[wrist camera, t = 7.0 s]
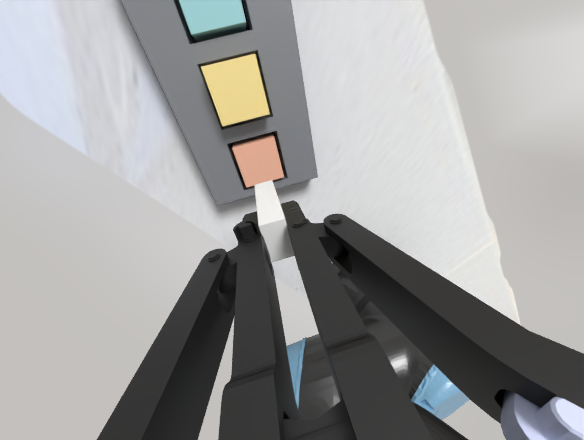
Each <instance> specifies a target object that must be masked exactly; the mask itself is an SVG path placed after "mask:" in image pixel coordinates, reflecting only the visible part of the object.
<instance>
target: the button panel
mask: <svg viewBox="0 0 584 440" xmlns="http://www.w3.org/2000/svg"><path fill="white" fill-rule="evenodd" d="M121 2H122V4H123V6H124V8H125V10H126V12H127V14H128V17H129V19H130V21H131V23H132V25H133V27H134V29H135V32H136V34H137V36H138V38H139V40H140V42H141V44H142V46H143V49H144V51H145V53H146V55H147V57H148V59H149V61H150V64H151V66H152V68H153V70H154V72H155V74H156V76H157V78H158V81H159V83H160V85H161V87H162V89H163V91H164V93H165V96H166V98H167V100H168V102H169V104H170V106H171V108H172V110H173V113H174V115H175V117H176V119H177V121H178V123H179V125H180V128H181V130H182V132H183V134H184V136H185V138H186V140H187V142H188V145H189V147H190V149H191V151H192V153H193V155H194V157H195V160H196V162H197V164H198V166H199V168H200V170H201V172H202V174H203V177H204V179H205V181H206V183H207V185H208V187H209V189H210V192H211V194H212V196H213V198H214V200H215V202H216V204H217V205H221V204H224V203H228V202H231V201H235V200H239V199H242V198H246V197H249V196H253V195H255V186H250V187H247V188H246V185H245V182H244V181H243V179H242V176H241V173H240V170H239V167H238V165H237V162H236V159H235V156H234V154H233V151H232V148H231V145H230V143H232V142H236V141H240V140H243V139H247V138H251V137H255V136H258V135H262V134H266V133H270V132H273V131H275V135H276V139H277V143H278V147H279V152H280V156H281V160H282V164H283V168H284V172H283V174H284V177H283V178H279V179H276V180H272V181H273V184H274V187H275V189H278V188H281V187H285V186H288V185H292V184H295V183H299V182H303V181H306V180H310V179H313V178H317V177H318V175H317V169H316V162H315V155H314V149H313V142H312V136H311V129H310V122H309V116H308V109H307V103H306V96H305V90H304V83H303V76H302V70H301V63H300V57H299V50H298V43H297V37H296V30H295V24H294V17H293V10H292V4H291V0H243V2H244V6H245V11H246V15H247V19H248V23H249V27H250V30H249V31H244V32H240V33H236V34H232V35H227V36H223V37H219V38H215V39H210V40H206V41H202V42H198V43H193V41H192V38H191V35H190V32H189V30H188V27H187V24H186V21H185V18H184V16H183V13H182V10H181V7H180V5H179V2H178V0H121ZM251 54H255V55H256V56H257V60H258V64H259V69H260V73H261V77H262V81H263V85H264V89H265V94H266V98H267V102H268V106H269V110H270V114H271V115H268V116H264V117H260V118H257V119H253V120H249V121H245V122H241V123H237V124H233V125H230V126H226V127H224V126H222V123H221V121H220V118H219V115H218V112H217V110H216V107H215V104H214V102H213V99H212V96H211V93H210V91H209V88H208V85H207V82H206V80H205V77H204V74H203V71H202V69H201V67H202V66H206V65H210V64H214V63H218V62H223V61H227V60H231V59H235V58H239V57H243V56H247V55H251Z"/></svg>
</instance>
